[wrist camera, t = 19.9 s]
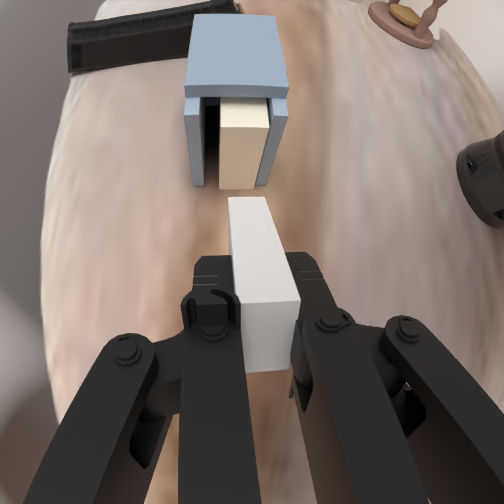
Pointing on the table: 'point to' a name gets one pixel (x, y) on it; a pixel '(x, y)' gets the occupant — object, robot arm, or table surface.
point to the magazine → (138, 36)
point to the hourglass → (406, 21)
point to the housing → (234, 78)
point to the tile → (241, 140)
